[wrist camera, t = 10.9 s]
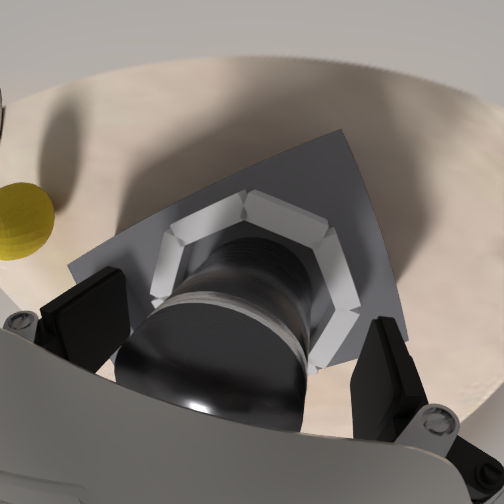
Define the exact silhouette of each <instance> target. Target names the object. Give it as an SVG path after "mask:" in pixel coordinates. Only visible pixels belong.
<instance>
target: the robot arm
mask: <svg viewBox="0 0 504 504" xmlns="http://www.w3.org/2000/svg"><path fill="white" fill-rule="evenodd" d="M1 120H2V97H1V90H0V129H1ZM40 312H41V316H42V318H41V319H40V320H39V319H38V316H37V314H36V313H34V312H31V311H20V312H17V313H14V314H12V315H10V316H9V317H8V318H7V319H6V321H5V323H4V326H3V329H1V328H0V504H504V467H503V466H502V464H501V463H500V462H499V461H497V460H496V459H495V458H493V457H491V456H489V455H488V454H487V453H485V452H483V451H482V450H480V449H478V448H477V447H475V446H474V445H472V444H471V443H469V442H467V441H466V440H464V439H463V438H461V437H460V436H458V435H457V434H458V432H459V429H460V423H459V419H458V417H457V415H456V414H455V413H454V412H453V411H452V410H451V409H449V408H448V407H446V406H443V405H440V404H429V403H428V400H427V397H426V394H425V391H424V388H423V386H422V383H421V380H420V377H419V374H418V372H417V369H416V366H415V364H414V361H413V358H412V357H411V356H410V355H409V353H408V350H407V347H406V345H405V342H404V340H403V337H402V335H401V332H400V330H399V328H398V325H397V323H396V320H395V318H393V317H386V316H378V317H377V319H373V320H372V321H371V324H370V327H369V330H368V333H367V336H366V339H365V342H364V344H363V347H362V350H361V353H360V356H359V358H358V361H357V364H356V366H355V369H354V372H353V374H352V377H351V381H350V391H351V404H352V419H353V438H354V439H352V438H342V437H334V436H324V435H315V434H308V433H301V432H295V431H288V430H282V429H276V428H270V427H265V426H260V425H255V424H250V423H245V422H241V421H236V420H232V419H228V418H224V417H220V416H216V415H212V414H208V413H205V412H201V411H197V410H194V409H190V408H187V407H184V406H180V405H177V404H174V403H171V402H168V401H165V400H162V399H159V398H156V397H153V396H150V395H147V394H145V393H142V392H139V391H136V390H134V389H131V388H129V387H126V386H123V385H121V384H118V383H116V382H114V381H111V380H109V379H106V378H104V377H102V376H99V375H97V374H95V373H96V372H97V371H98V370H99V369H100V368H101V367H102V365H103V364H104V363H105V362H106V361H107V360H108V359H109V358H110V357H111V356H112V355H113V354H114V353H115V352H116V351H117V350H118V349H119V348H120V347H121V345H122V344H123V343H124V342H125V341H126V340H127V339H128V338H129V336H130V333H131V327H130V319H129V310H128V301H127V290H126V278H125V274H124V273H123V272H122V270H121V269H119V268H115V267H111V266H106V267H105V268H103V269H101V270H100V271H98V272H96V273H95V274H93V275H91V276H90V277H88V278H87V279H85V280H83V281H82V282H80V283H79V284H77V285H75V286H74V287H72V288H71V289H69V290H68V291H66V292H64V293H63V294H61V295H60V296H58V297H57V298H55V299H54V300H52V301H50V302H49V303H47V304H46V305H44V306H43V307H41V308H40Z"/></svg>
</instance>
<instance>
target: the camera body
mask: <svg viewBox="0 0 504 504" xmlns="http://www.w3.org/2000/svg"><path fill="white" fill-rule="evenodd" d="M243 237H260V238H265V239H269V240H272V241H275V242H277V243H279V244H281V245H283V246H285V247H286V248H288V249H289V250H290V251H291V252H293V253H294V254H295V255H296V256H297V257H298V258H299V260H300V261H301V262H302V264H303V265H304V267H305V268H306V270H307V273H308V275H309V278H310V281H311V287H312V301H311V322H310V340H309V355H308V376H309V375H313V374H317V373H318V370H319V369H322V368H323V369H325V368H326V367H330V366H333V365H337V364H340V363H344V362H347V361H350V360H354V359H357V358H359V356H360V353H361V350H362V347H363V344H364V342H365V339H366V336H367V333H368V330H369V327H370V324H371V321H372V320H373V319H377V317H378V316H386V317H393V318H395V320H396V323H397V325H398V328H399V330H400V332H401V335H402V337H403V340H404V342H406V341H409V339H408V334H407V329H406V325H405V320H404V315H403V311H402V306H401V302H400V298H399V294H398V290H397V286H396V282H395V278H394V275H393V271H392V267H391V264H390V260H389V257H388V253H387V250H386V247H385V243H384V240H383V237H382V234H381V231H380V227H379V224H378V221H377V218H376V215H375V213H374V210H373V207H372V204H371V201H370V198H369V196H368V193H367V190H366V187H365V185H364V182H363V180H362V177H361V174H360V172H359V169H358V167H357V164H356V162H355V159H354V157H353V155H352V152H351V150H350V147H349V145H348V143H347V141H346V138H345V136H344V134H343V131H342V129H339V130H337V131H334V132H332V133H329V134H326V135H324V136H321V137H319V138H316V139H314V140H311V141H309V142H306V143H304V144H301V145H299V146H296V147H294V148H292V149H289V150H287V151H284V152H282V153H280V154H277V155H275V156H273V157H271V158H268V159H266V160H264V161H261V162H259V163H257V164H255V165H253V166H250V167H248V168H246V169H244V170H242V171H239V172H237V173H235V174H233V175H231V176H229V177H227V178H224V179H222V180H220V181H218V182H216V183H214V184H212V185H210V186H208V187H206V188H204V189H202V190H200V191H198V192H196V193H194V194H192V195H190V196H188V197H186V198H184V199H182V200H180V201H178V202H176V203H174V204H172V205H170V206H168V207H167V208H165V209H163V210H161V211H159V212H157V213H155V214H153V215H152V216H150V217H148V218H146V219H144V220H142V221H141V222H139V223H137V224H135V225H133V226H132V227H130V228H128V229H126V230H125V231H123V232H121V233H119V234H118V235H116V236H114V237H112V238H111V239H109V240H107V241H106V242H104V243H102V244H101V245H99V246H97V247H96V248H94V249H92V250H91V251H89V252H87V253H86V254H84V255H82V256H81V257H79V258H78V259H76V260H74V261H73V262H71V263H70V264H68V265H67V266H68V268H69V270H70V272H71V274H72V276H73V278H74V280H75V282H76V284H79V283H80V282H82V281H83V280H85V279H87V278H88V277H90V276H91V275H93V274H95V273H96V272H98V271H100V270H101V269H103V268H105V267H106V266H111V267H115V268H119V269H121V270H122V272H123V273H124V274H125V278H126V290H127V301H128V310H129V319H130V327H131V333H130V335H131V334H132V333H133V332H134V331H135V330H136V329H137V328H138V327H139V326H140V325H141V324H142V323H143V321H144V320H145V319H146V318H147V317H148V316H149V315H150V314H151V313H152V312H153V311H154V310H155V309H156V308H157V307H158V306H159V305H160V304H162V303H163V302H164V301H165V300H166V299H167V298H168V297H169V296H170V295H171V294H172V293H173V292H174V291H175V290H176V289H177V288H178V287H179V286H180V285H181V284H182V283H183V282H184V281H185V280H186V279H187V278H188V277H189V276H190V275H191V274H192V273H193V272H194V271H195V270H196V269H197V268H198V267H199V266H200V265H201V264H202V263H203V262H204V261H205V260H206V259H207V258H208V257H209V256H210V255H211V254H212V253H213V252H214V251H215V250H216V249H217V248H219V247H220V246H222V245H223V244H225V243H227V242H229V241H231V240H235V239H238V238H243ZM129 337H130V336H129ZM118 350H119V349H118ZM118 350H117V351H116V352H115V353H114V354H113V355H112V356H111V357H110V359H111V361H112V362H113V364H115V358H116V355H117V353H118Z"/></svg>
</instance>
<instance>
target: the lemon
mask: <svg viewBox="0 0 504 504" xmlns="http://www.w3.org/2000/svg"><path fill="white" fill-rule="evenodd" d="M54 220H55V214H54V207H53V204H52V201H51V199H50V197H49V196H48V195H47V193H46V192H45V191H44V190H43V189H41V188H40V187H38V186H37V185H34V184H30V183H23V182H21V183H14V184H10V185H7V186H5V187H2V188H0V260H5V261H7V260H15V259H20V258H24V257H27V256H29V255H31V254H33V253H34V252H36V251H37V250H38V249H39V248H41V247H42V246H43V245H44V244H45V243H46V241H47V240H48V238H49V236H50V235H51V232H52V230H53V226H54Z"/></svg>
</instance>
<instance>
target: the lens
mask: <svg viewBox="0 0 504 504" xmlns="http://www.w3.org/2000/svg"><path fill="white" fill-rule="evenodd" d="M311 301H312V287H311V281H310V278H309V275H308V273H307V270H306V268H305V267H304V265H303V264H302V262H301V261H300V260H299V258H298V257H297V256H296V255H295V254H294V253H293V252H291V251H290V250H289V249H288V248H286V247H285V246H283V245H281V244H279V243H277V242H275V241H272V240H269V239H265V238H260V237H243V238H238V239H235V240H231V241H229V242H227V243H225V244H223V245H222V246H220V247H219V248H217V249H216V250H215V251H214V252H213V253H212V254H211V255H210V256H209V257H208V258H207V259H206V260H205V261H204V262H203V263H202V264H201V265H200V266H199V267H198V268H197V269H196V270H195V271H194V272H193V273H192V274H191V275H190V276H189V277H188V278H187V279H186V280H185V281H184V282H183V283H182V284H181V285H180V286H179V287H178V288H177V289H176V290H175V291H174V292H173V293H172V294H171V295H170V296H169V297H168V298H167V299H166V300H165V301H164V302H163V303H162V304H160V305H159V306H158V307H157V308H156V309H155V310H154V311H153V312H152V313H151V314H150V315H149V316H148V317H147V318H146V319H145V320H144V321H143V323H142V324H141V325H140V326H139V327H138V328H137V329H136V330H135V331H134V332H133V333H132V334H131V335H130V337H129V338H128V339H127V340H126V341H125V342H124V343H123V344H122V345H121V347H120V348H119V350H118V353H117V355H116V358H115V364H114V373H115V378H116V383H118V384H121V385H123V386H126V387H129V388H131V389H134V390H136V391H139V392H142V393H145V394H147V395H150V396H153V397H156V398H159V399H162V400H165V401H168V402H171V403H174V404H177V405H180V406H184V407H187V408H190V409H194V410H197V411H201V412H205V413H208V414H212V415H216V416H220V417H224V418H228V419H232V420H236V421H241V422H245V423H250V424H255V425H260V426H265V427H270V428H276V429H282V430H288V431H295V432H300V430H301V426H302V422H303V413H304V403H305V396H306V390H307V378H308V355H309V340H310V322H311Z"/></svg>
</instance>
